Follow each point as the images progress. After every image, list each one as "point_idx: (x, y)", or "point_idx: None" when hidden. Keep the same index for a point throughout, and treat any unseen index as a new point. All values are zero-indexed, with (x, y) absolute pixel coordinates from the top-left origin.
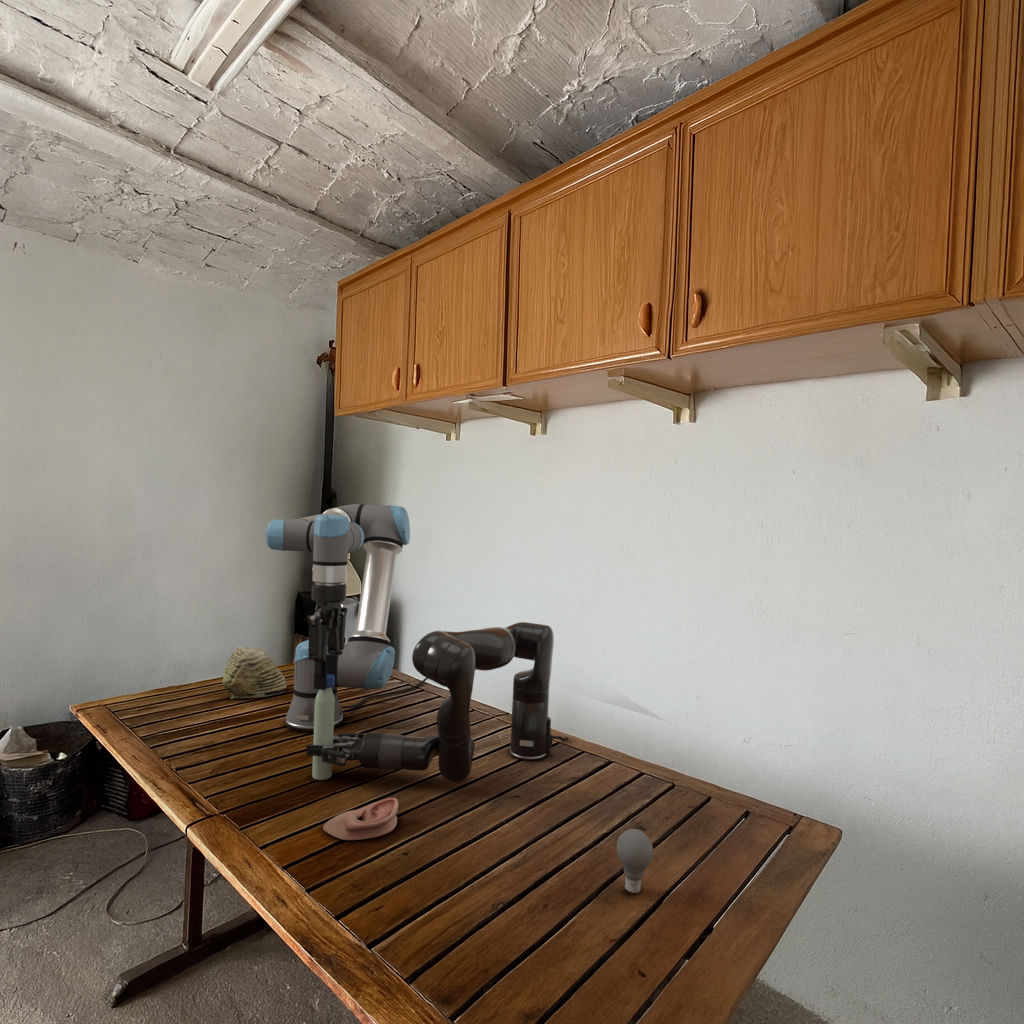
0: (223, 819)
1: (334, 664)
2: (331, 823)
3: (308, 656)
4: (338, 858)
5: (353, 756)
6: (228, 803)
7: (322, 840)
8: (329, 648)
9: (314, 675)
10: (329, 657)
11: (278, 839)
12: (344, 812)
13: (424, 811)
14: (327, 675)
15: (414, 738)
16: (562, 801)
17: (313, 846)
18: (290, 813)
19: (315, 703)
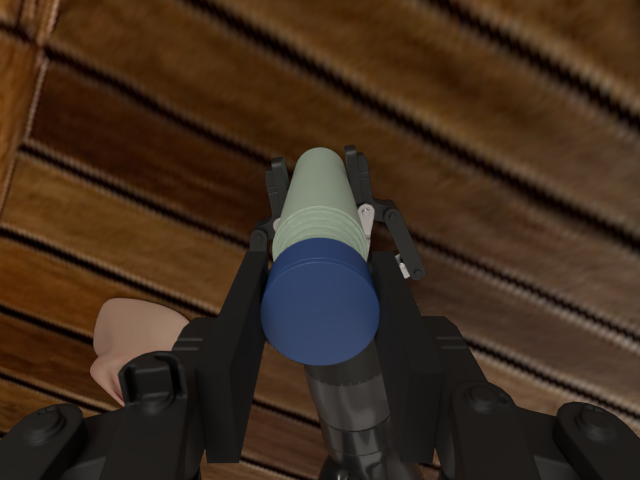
0: (27, 78)
1: (387, 392)
2: (108, 320)
3: (10, 432)
4: (52, 361)
5: None
6: (90, 31)
7: (80, 314)
8: (454, 451)
9: (228, 293)
10: (401, 392)
11: (38, 243)
12: (162, 318)
13: (252, 419)
14: (338, 318)
15: (359, 450)
16: None
17: (56, 310)
18: (128, 207)
19: (283, 219)
